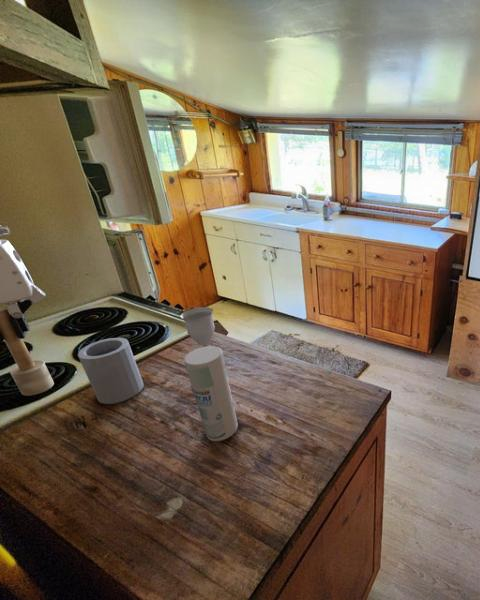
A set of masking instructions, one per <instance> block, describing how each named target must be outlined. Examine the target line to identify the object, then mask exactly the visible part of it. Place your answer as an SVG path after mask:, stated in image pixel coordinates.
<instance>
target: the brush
mask: <svg viewBox="0 0 480 600" xmlns="http://www.w3.org/2000/svg"><path fill="white" fill-rule="evenodd" d="M10 314H11V313H10V311H9V309H8V307H0V333H1V335H2V337H3V339H4V341H3V342H5V344H6V347H7V348H8V351H9V352H10V354H11V356H12V358H13V360H14V361H15V364H16V365H15V366H14V367H13V368H12V369H10V372H9V374H10V375H11V377H12V379H13V380H14V382H15V385H16V387H17V388H18V390H19V392H20V393H21V395H23V396H25V397H29V396H36V395H39V394H42V393H44V392H47V391H48V390H50V389H52V387H54V385H55V382H54V379H53V378H52V375H51V373H50V371H49V369H48V367H47V365H46V363H45V361H43V360H39V359H36V360H34V359H33V358H32V356H31V353H30V352H29V350H28V348H27V346H26V343H25V342H24V339H20V338H18V336H17V334H16V332H15V330H14V329H13V327H12V325H11V323H10V318H11V316H10Z"/></svg>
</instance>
